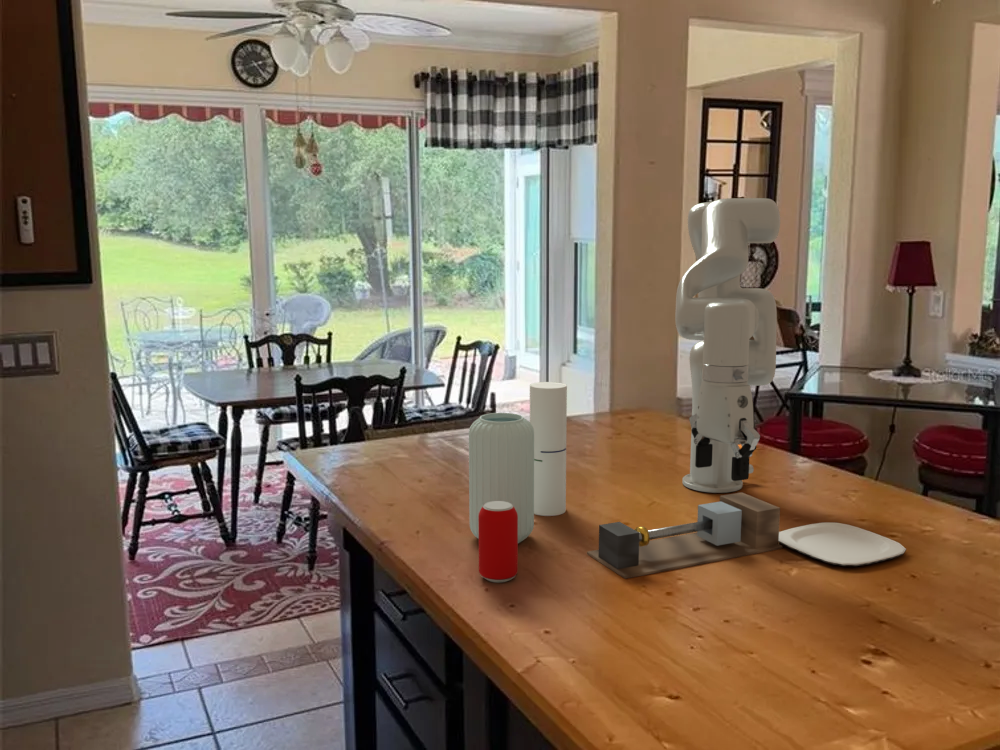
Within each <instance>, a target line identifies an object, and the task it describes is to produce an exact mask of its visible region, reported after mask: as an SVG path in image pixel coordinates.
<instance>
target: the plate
mask: <svg viewBox="0 0 1000 750" xmlns="http://www.w3.org/2000/svg"><path fill="white" fill-rule="evenodd" d="M779 543H780V545H782V546H785V547H787V548H789V549H791V550H793V551H797V552H798V553H801V554H803V555H806V556H808V557H810V558H813V559H815V560H818V561H821V562H824V563H827V564H830V565H837V566H841V567H858V566H865V565H872V564H875V563H880V562H884V561H888V560H892V559H894V558H897V557H900V556H902V555H904V553H905V552H906V551H907V548H905V547H904V546H903V545H902V544H901V543H900V542H898V541H895V540H893V539H891V538H888V537H886V536H883V535H880V534H878V533H875V532H872V531H870V530H866V529H864V528H860V527H858V526H854V525H850V524H848V523H847V524H846V523H840V522H817V523H811V524H806V525H800V526H796V527H792V528H788V529H785V530H782V531H779V540H778V544H779Z"/></svg>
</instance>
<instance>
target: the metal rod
mask: <svg viewBox="0 0 1000 750" xmlns="http://www.w3.org/2000/svg"><path fill="white" fill-rule="evenodd" d="M712 528H713V520H707V521H701V522H697V521H696V522H690V523H689V522H688V523H683V524H679V525H673V526H665V527H660V528H655V529H648V528H647V527H645V526H637V527H635V528H634V530H635V531H637V532H639V546H640V547H641V546H647V545H648V544H649V541H651V540H656V539H662V538H668V537H673V536H679V535H685V534H691V533H696V532H698V531H704V530H710V529H712Z"/></svg>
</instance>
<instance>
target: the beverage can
mask: <svg viewBox="0 0 1000 750" xmlns="http://www.w3.org/2000/svg"><path fill="white" fill-rule="evenodd" d="M478 523H479V539H478V573H479V575H480V577H482V578H484V579H485V580H487V581H488V582H491V583H496V584H497V583H498V584H499V583H506V582H509V581H511V580H512V579H515V577H516V576H517V575H518V571H519V570H518V568H519V567H518V566H519V565H518V558H519V555H518V553H519V549H518V547H519V545H518V544H519V543H518V515H517V512H516V510H515V508H514V506H513V505H512V504H510V503H508V502H504V501H492V502H488V503H486V504H484V505H483V506H482V508H481V510H480V512H479V516H478Z"/></svg>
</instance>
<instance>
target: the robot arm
mask: <svg viewBox="0 0 1000 750" xmlns="http://www.w3.org/2000/svg"><path fill="white" fill-rule="evenodd" d="M687 228H688V229H687V230H688V235H689V240H690V244H691V246H692V250H693V253H694V256H695V259H696V260H695V262H694V263H693V264H692V265H691V266H690V267H688V269H687V270H686V271H685V272H684V273H683V275H682V276H681V279H680V281H679V282H678V285H677V289H676V295H675V297H676V298H675V315H674V318H675V319H674V321H675V328H676V331H677V333H678V335H679V336H680V337H682V338H683V339H686V340H689V341H690V340H691V341H693V340H694V341H697V342H695V344H694V345H693V346H692V347H691V348H690V352H689V370H690V377H691V391H692V392H691V393H692V395H691V398H692V399H691V404H692V405H691V406H692V408H691V416H690V417H688V418H689V423H690V428H691V435H690V437H691V438H690V462H689V463H690V464H689V473H688V474H686V475H684V476H683V477H682V485H683V486H684V487H685V488H688V489H690V490H694V491H697V492H701V493H713V494H717V493H718V494H725V493H733V492H737V491H739V490H741V489H743V483H744V482H743V481H745V480H748V479H749V476H750V474H753V473H754V466H753V465H752V464H750V458H751V457H752V456H753V454H754V452H755V451H756V450H757V445H758V443H759V441H760V438H761V435H760V433H759V432H758V431H757V430H756V429H755V428H754V422H755V421H754V403H753V401H754V400H753V395H752V389H751V386H755V387H756V386H759V387H760V386H766V385H769V384H770V383H772V381H774V378H775V374H776V367H777V325H778V323H777V319H778V318H777V315H778V314H777V311H778V310H777V303H776V297H774V294H773V293H772V292H771V291H770V290H768V289H766V288H758V287H757V288H755V287H753V288H752V287H748V288H747V287H741V275H742V274H743V273H744V272H745V270H746V269H747V267H748V264H749V247H748V246H749V245H748V244H771V243H773V242H775V241H776V239H777V238H778V236H779V233H780V230H781V229H780V228H781V215H780V209H779V206H778V204H777V203H776V201H774V200H773V199H771V198H765V197H764V198H763V197H761V198H760V197H754V198H753V197H747V198H745V197H741V198H739V197H738V198H737V197H736V198H734V197H733V198H728V197H727V198H720V199H716V200H713V201H706V202H701V203H697V204H695V205H693V206H692V207H691V208H690V209H689V211H688V215H687ZM696 295H697V296H698V297H695V296H696ZM752 337H753V339H751V338H752ZM739 445H740V446H741V447H740V446H739Z"/></svg>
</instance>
